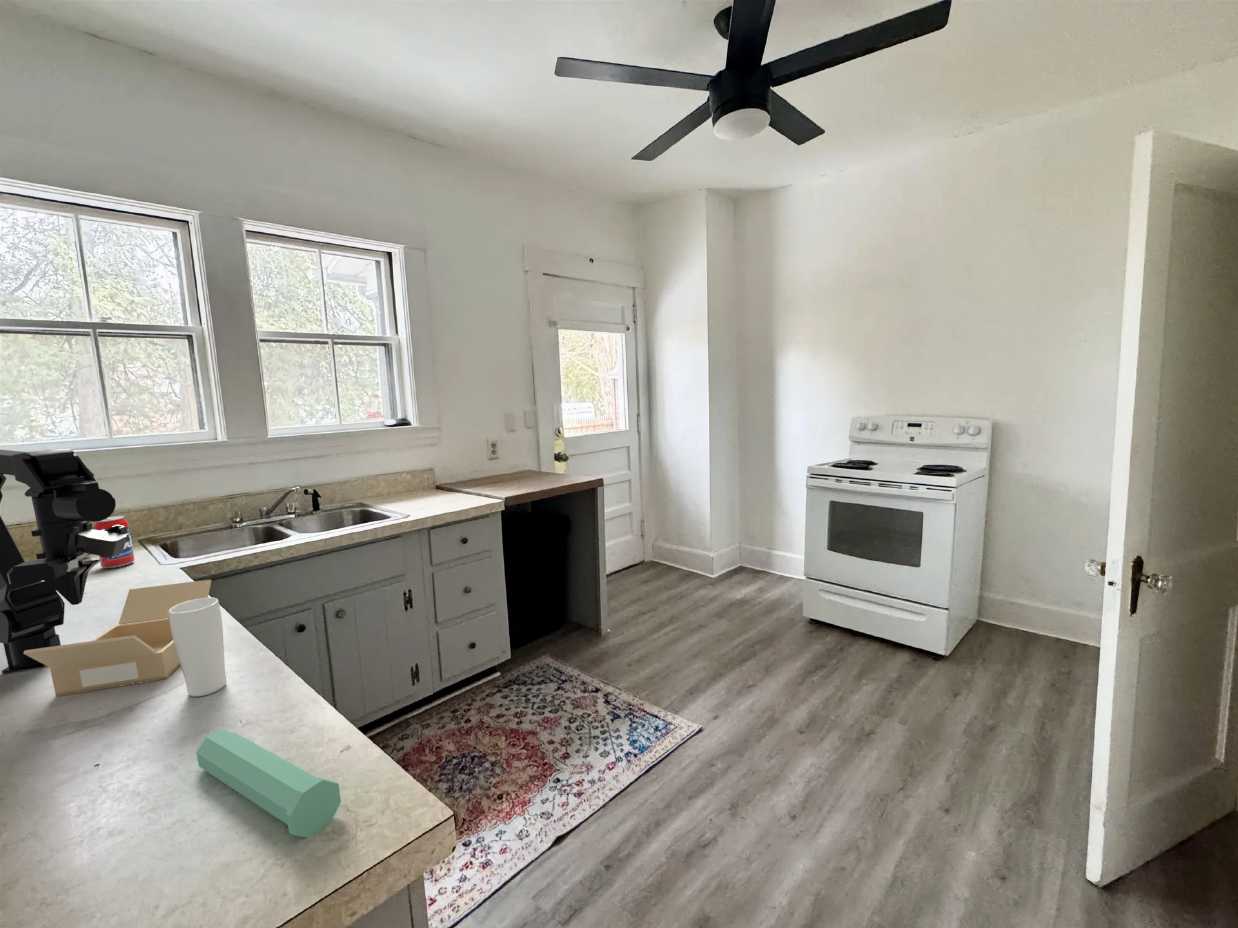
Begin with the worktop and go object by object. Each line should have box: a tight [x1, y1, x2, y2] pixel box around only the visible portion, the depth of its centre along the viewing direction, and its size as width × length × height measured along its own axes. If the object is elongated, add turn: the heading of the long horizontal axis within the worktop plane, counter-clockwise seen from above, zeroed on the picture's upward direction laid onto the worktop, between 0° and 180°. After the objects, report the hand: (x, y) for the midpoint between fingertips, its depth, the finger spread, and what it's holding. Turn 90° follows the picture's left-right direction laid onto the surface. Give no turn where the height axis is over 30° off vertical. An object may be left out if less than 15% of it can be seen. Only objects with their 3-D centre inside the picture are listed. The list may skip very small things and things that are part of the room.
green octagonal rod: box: [195, 728, 342, 839], centre depth 68 cm, size 6×6×25 cm
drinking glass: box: [168, 597, 227, 698], centre depth 92 cm, size 7×7×15 cm
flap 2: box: [118, 579, 212, 625], centre depth 115 cm, size 15×8×1 cm
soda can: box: [92, 515, 136, 569], centre depth 169 cm, size 8×8×15 cm
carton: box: [49, 618, 181, 697], centre depth 104 cm, size 16×18×5 cm
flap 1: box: [23, 635, 157, 669], centre depth 92 cm, size 15×8×1 cm
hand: (76, 603), depth 100 cm, fingers closed
